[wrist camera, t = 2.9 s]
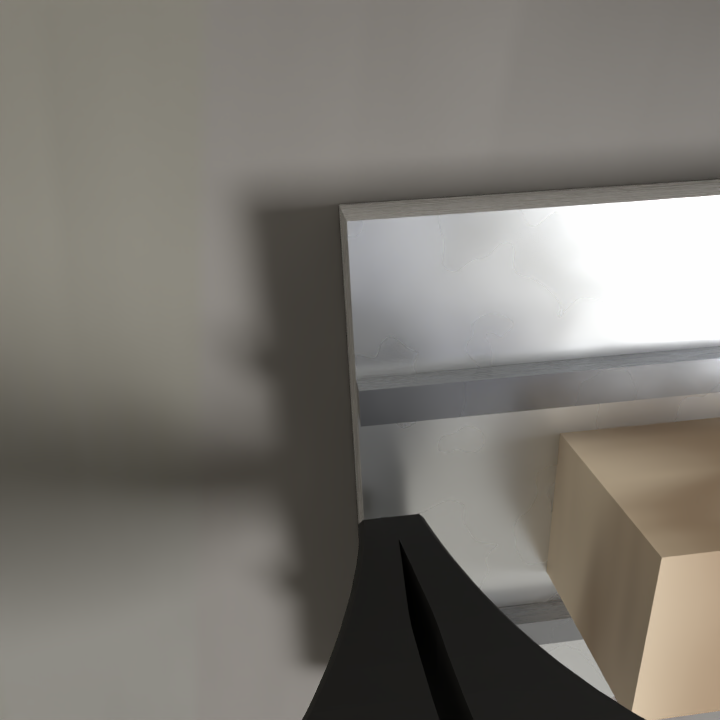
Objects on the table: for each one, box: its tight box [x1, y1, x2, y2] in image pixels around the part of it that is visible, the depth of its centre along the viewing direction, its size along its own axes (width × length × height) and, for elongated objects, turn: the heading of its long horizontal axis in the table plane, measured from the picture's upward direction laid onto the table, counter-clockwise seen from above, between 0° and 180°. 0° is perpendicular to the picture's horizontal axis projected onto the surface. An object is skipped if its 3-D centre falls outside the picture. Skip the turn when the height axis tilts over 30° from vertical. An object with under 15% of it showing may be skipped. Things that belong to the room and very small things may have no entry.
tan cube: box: [546, 417, 720, 720], centre depth 12 cm, size 4×4×4 cm
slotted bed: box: [339, 179, 720, 697], centre depth 15 cm, size 15×14×3 cm
